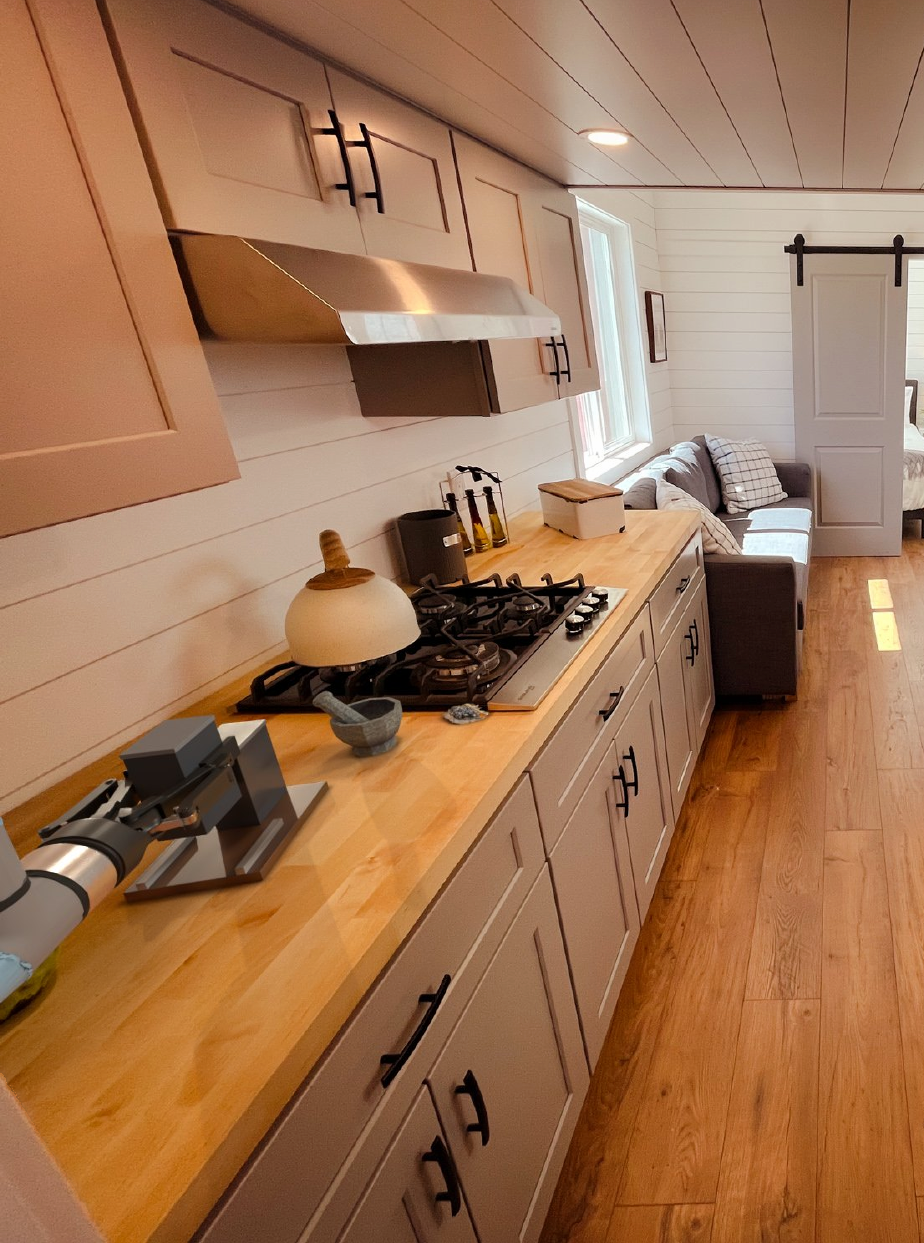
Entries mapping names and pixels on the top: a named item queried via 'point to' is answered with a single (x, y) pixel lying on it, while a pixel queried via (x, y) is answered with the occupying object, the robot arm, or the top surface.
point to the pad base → (232, 850)
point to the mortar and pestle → (363, 722)
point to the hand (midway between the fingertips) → (208, 748)
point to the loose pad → (177, 766)
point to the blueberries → (464, 714)
